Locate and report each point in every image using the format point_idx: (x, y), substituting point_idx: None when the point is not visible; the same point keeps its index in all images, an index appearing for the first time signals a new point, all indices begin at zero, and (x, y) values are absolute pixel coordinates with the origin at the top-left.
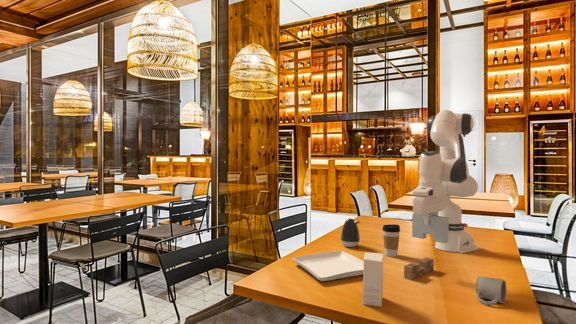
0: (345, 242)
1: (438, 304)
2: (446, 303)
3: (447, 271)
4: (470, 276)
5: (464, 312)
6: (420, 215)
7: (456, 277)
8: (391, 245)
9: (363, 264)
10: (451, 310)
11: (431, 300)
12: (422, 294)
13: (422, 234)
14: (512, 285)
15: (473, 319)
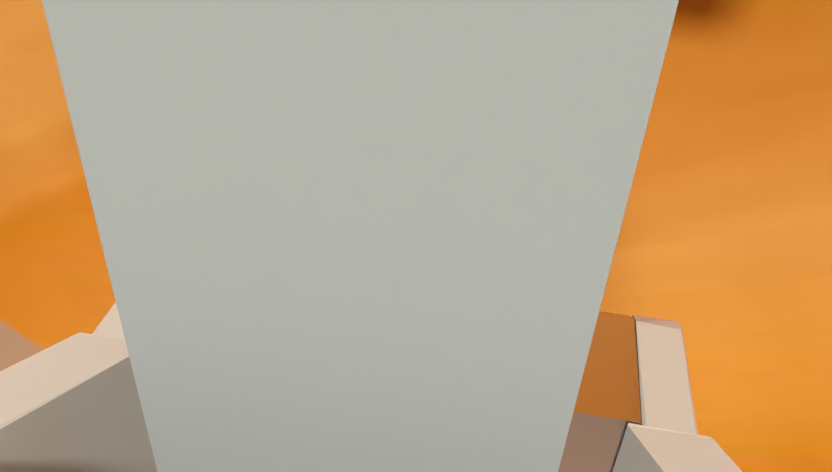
0: None
1: (4, 176)
2: (63, 207)
3: (819, 7)
4: (777, 218)
5: (56, 300)
6: (128, 238)
7: (656, 132)
8: None
9: None
10: (10, 249)
11: (9, 125)
12: (31, 40)
13: None
14: (735, 449)
15: (29, 340)
